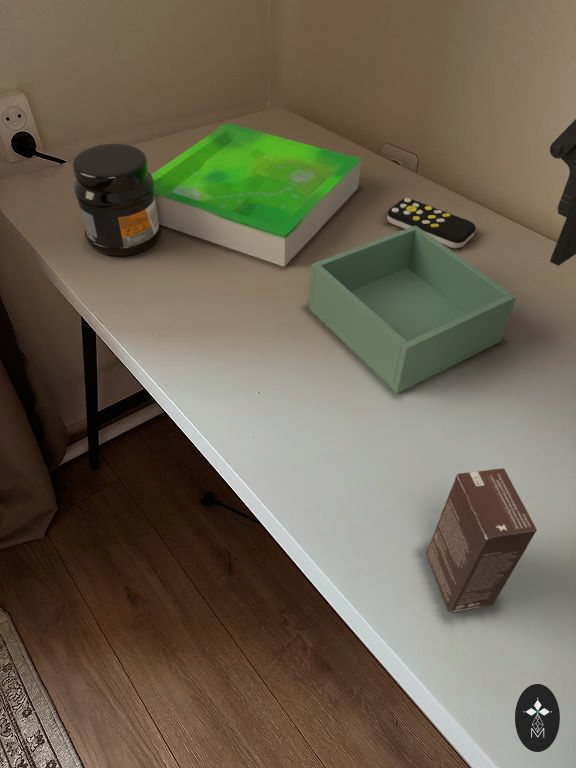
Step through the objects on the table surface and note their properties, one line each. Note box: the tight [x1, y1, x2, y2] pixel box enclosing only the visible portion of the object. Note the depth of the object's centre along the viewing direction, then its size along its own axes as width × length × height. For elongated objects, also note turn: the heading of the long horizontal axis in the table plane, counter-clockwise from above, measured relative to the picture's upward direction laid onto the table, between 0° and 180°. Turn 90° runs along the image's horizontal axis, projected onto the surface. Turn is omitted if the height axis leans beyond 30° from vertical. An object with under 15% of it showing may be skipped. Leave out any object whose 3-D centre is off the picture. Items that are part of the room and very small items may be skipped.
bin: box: [308, 226, 517, 394], centre depth 77 cm, size 18×17×7 cm
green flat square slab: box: [150, 122, 362, 268], centre depth 98 cm, size 25×25×5 cm
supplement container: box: [72, 143, 161, 257], centre depth 88 cm, size 10×10×12 cm
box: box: [426, 467, 538, 613], centre depth 52 cm, size 6×4×12 cm
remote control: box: [386, 197, 477, 249], centre depth 95 cm, size 6×13×2 cm, turn 53°
